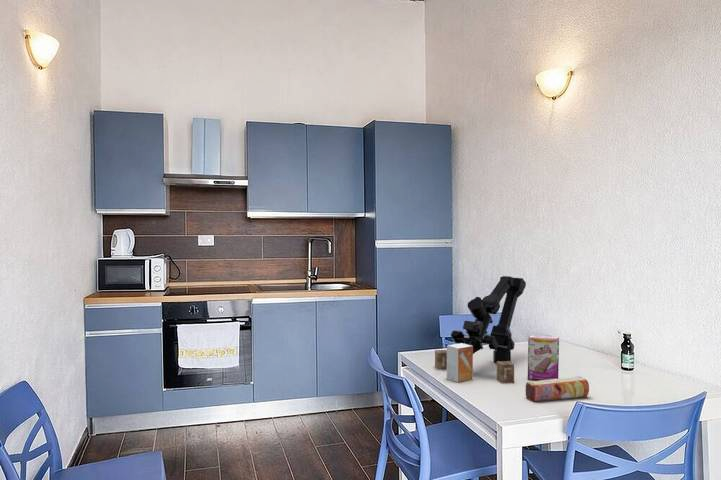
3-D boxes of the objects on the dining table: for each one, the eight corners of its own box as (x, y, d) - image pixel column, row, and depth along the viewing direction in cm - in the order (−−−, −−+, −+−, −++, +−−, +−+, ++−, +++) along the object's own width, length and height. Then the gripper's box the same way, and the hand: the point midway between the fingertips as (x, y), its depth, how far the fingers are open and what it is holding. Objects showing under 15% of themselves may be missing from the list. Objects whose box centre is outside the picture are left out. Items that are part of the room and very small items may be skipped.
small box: (458, 382, 199) (458, 348, 198) (446, 379, 204) (446, 345, 204) (473, 379, 203) (473, 345, 203) (461, 375, 208) (461, 342, 208)
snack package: (534, 403, 175) (534, 383, 175) (523, 397, 182) (523, 378, 182) (590, 399, 180) (590, 379, 180) (577, 393, 187) (578, 374, 187)
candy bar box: (527, 380, 202) (527, 337, 202) (527, 376, 207) (528, 334, 207) (558, 383, 199) (559, 339, 198) (558, 379, 203) (558, 336, 203)
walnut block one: (446, 366, 222) (446, 349, 222) (449, 369, 217) (449, 352, 217) (434, 366, 222) (435, 350, 222) (437, 370, 217) (437, 353, 217)
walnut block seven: (509, 379, 204) (509, 361, 203) (514, 383, 198) (514, 364, 198) (496, 379, 203) (496, 361, 203) (501, 383, 198) (501, 364, 198)
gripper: (453, 310, 217) (437, 341, 209) (494, 315, 204) (480, 348, 196) (463, 327, 223) (448, 358, 215) (504, 332, 210) (490, 366, 202)
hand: (466, 357), depth 207 cm, fingers closed
